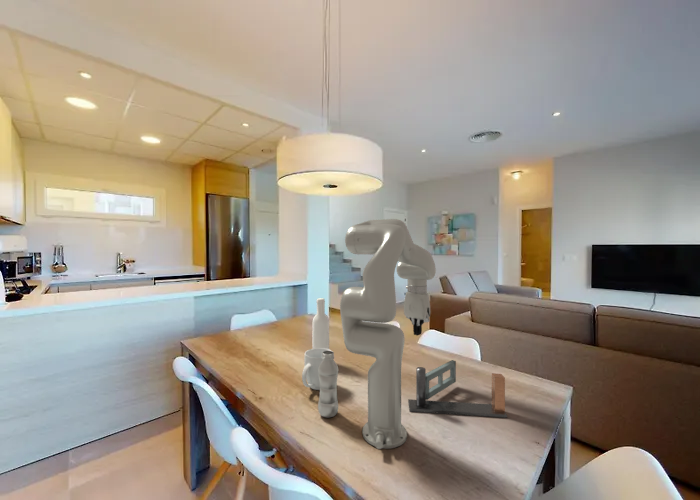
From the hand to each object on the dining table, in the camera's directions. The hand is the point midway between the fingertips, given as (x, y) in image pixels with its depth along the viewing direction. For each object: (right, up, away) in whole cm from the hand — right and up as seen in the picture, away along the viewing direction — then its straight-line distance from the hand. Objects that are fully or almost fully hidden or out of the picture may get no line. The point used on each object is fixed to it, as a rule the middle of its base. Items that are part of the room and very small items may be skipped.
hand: (417, 334), depth 120 cm
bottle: (-41, -19, +18) cm, 48 cm away
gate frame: (+7, -18, -23) cm, 30 cm away
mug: (-40, -19, -7) cm, 45 cm away
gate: (+5, -16, -13) cm, 22 cm away
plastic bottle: (-35, -19, -26) cm, 47 cm away
